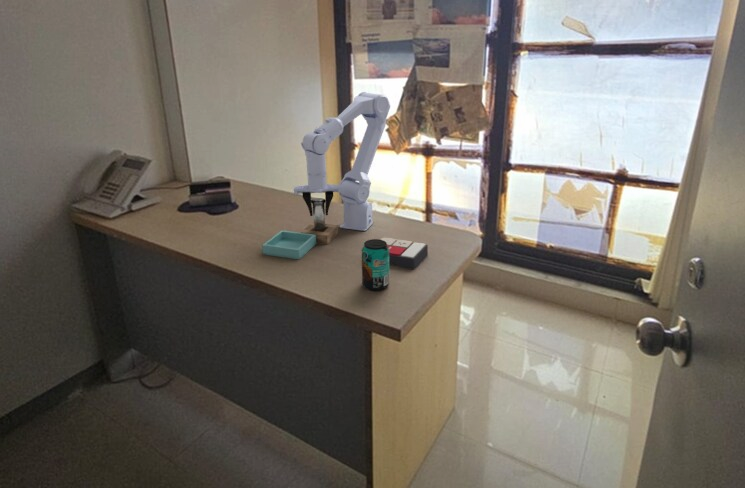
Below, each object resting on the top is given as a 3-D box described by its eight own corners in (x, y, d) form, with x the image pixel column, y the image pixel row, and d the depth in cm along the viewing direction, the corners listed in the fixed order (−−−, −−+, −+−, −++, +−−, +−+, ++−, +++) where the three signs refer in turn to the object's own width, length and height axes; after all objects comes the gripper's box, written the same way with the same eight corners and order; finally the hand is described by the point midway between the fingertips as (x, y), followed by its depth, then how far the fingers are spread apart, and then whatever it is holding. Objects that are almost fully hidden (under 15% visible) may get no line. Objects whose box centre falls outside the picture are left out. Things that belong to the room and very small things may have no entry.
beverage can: (361, 279, 130) (361, 238, 125) (387, 278, 130) (388, 237, 125) (362, 292, 124) (362, 249, 119) (390, 291, 124) (390, 249, 119)
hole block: (338, 233, 159) (338, 225, 158) (327, 244, 151) (327, 235, 150) (313, 230, 162) (312, 222, 160) (301, 240, 154) (300, 232, 153)
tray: (316, 243, 152) (316, 234, 151) (299, 259, 141) (298, 250, 140) (282, 238, 155) (281, 230, 154) (263, 254, 145) (262, 244, 144)
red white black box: (382, 235, 149) (428, 242, 142) (382, 248, 151) (428, 255, 144) (365, 249, 140) (413, 256, 133) (366, 262, 142) (414, 270, 135)
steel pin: (328, 225, 156) (327, 198, 153) (323, 230, 152) (321, 203, 149) (316, 223, 158) (314, 197, 154) (310, 228, 154) (308, 201, 150)
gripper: (292, 177, 143) (295, 220, 149) (341, 175, 145) (342, 217, 150) (293, 171, 150) (296, 212, 155) (339, 169, 151) (341, 210, 157)
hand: (319, 214), depth 153 cm, fingers closed on steel pin, 4 cm apart
